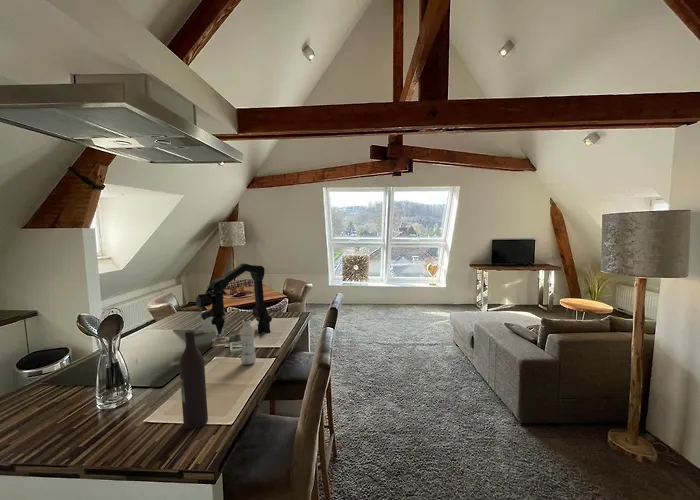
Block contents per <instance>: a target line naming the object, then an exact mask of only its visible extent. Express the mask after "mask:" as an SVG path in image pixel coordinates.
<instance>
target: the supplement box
mask: <svg viewBox="0 0 700 500" xmlns="http://www.w3.org/2000/svg"><path fill="white" fill-rule="evenodd" d="M207 310H208V309H207ZM207 310H204V311H201V312H200V314H201V313H203V312H205V311H207ZM200 317H201V327H202V328H201V329H202V333H204V334H209V333H216V325H212V322H211V321H212V319H213V317H212V316H211V317H209V318H207V319H205V320H203V319H202V316H201V315H200Z"/></svg>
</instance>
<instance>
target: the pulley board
mask: <svg viewBox="0 0 700 500" xmlns="http://www.w3.org/2000/svg"><path fill="white" fill-rule="evenodd" d="M239 341H241V338H240V332H238V333H233V334H230V335H228V336H223V337H221V338H217V337H214V338H212V343H211V347H221V346H228V345H229V346H230V343H231V342H239Z"/></svg>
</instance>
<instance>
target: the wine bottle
mask: <svg viewBox="0 0 700 500" xmlns="http://www.w3.org/2000/svg"><path fill="white" fill-rule="evenodd" d="M195 336H196V332H195V330H194V329H193V330H192V329H189V330H186V331H185V333H184V337H185V347H184V351H183V353H182V354H181V358H180V359H179V378H180V394H181V395H180V396H181V406H182V407H181V408H182V421H183V428H184V429H185V430H190V431H191V430H192V431H193V430H197V429H200V428H203V427H204V426H205V425H206V424H207V423H208V420H209V416H208V415H209V413H208V401H207V383H206V369H205V359H204V357H203V354H202V352H201V351H200V350H199V348H198V347H197V344H196V341H195V339H196V337H195Z"/></svg>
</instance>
